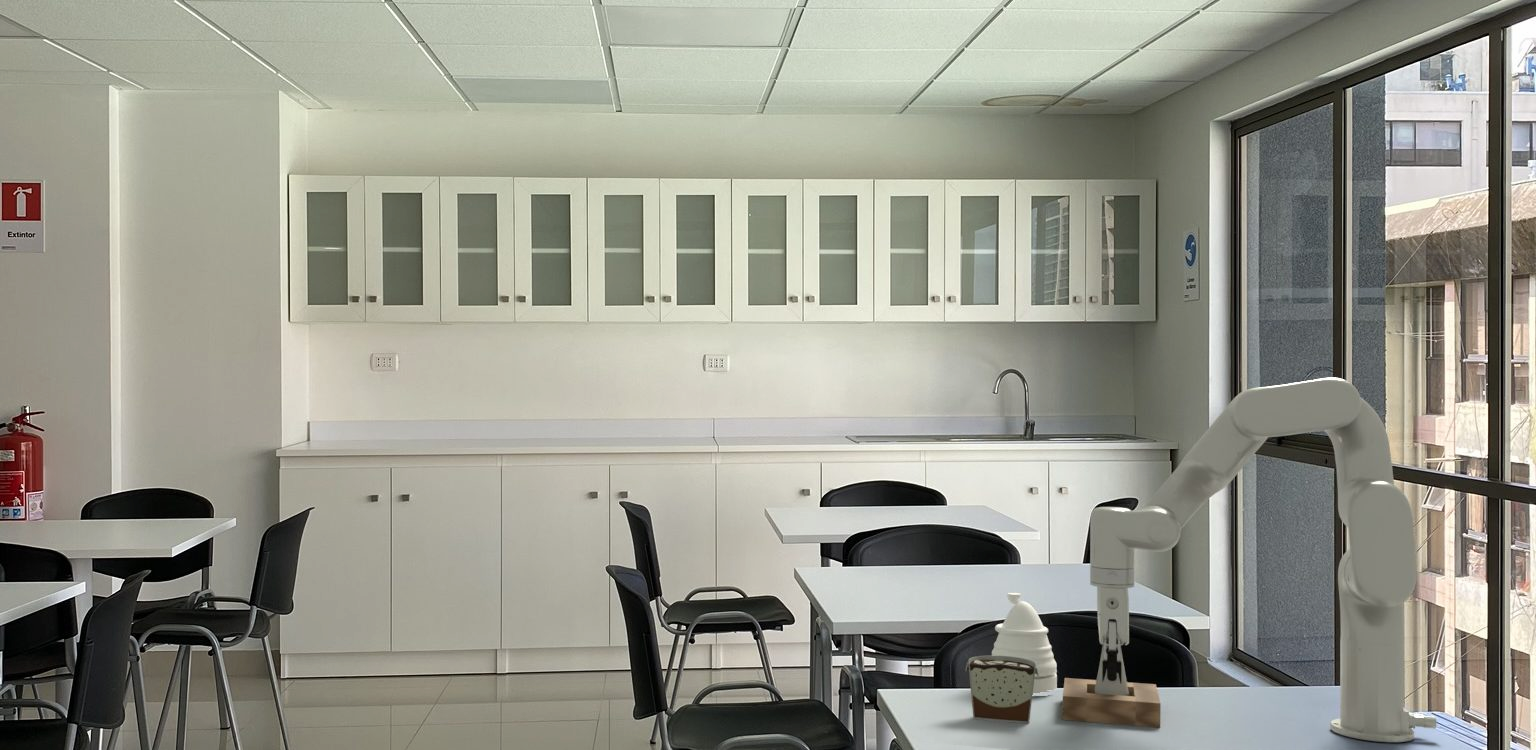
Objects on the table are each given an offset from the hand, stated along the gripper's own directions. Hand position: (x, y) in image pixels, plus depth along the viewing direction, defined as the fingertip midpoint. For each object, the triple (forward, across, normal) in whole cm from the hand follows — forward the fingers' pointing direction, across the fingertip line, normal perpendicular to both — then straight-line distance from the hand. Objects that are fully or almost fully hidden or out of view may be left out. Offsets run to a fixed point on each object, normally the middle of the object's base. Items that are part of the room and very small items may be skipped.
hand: (1111, 681), depth 215 cm
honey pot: (+6, +14, +16) cm, 22 cm away
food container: (+6, -10, +18) cm, 21 cm away
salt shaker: (+4, 0, 0) cm, 4 cm away
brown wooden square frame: (+6, 0, 0) cm, 6 cm away
